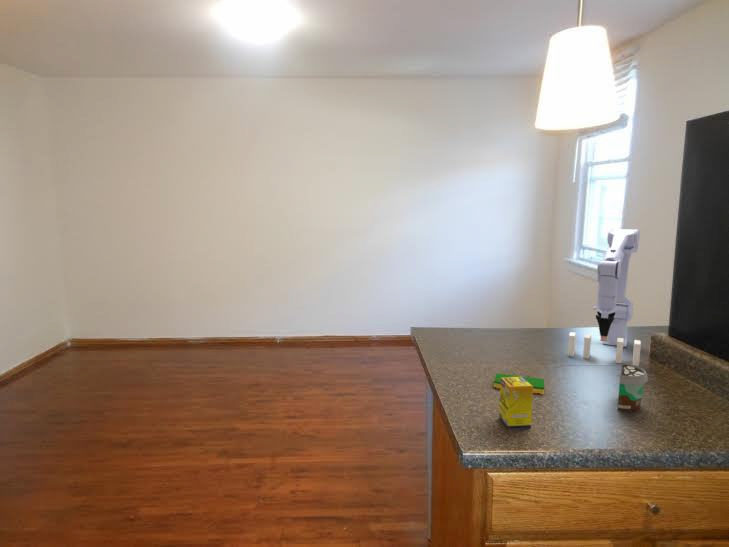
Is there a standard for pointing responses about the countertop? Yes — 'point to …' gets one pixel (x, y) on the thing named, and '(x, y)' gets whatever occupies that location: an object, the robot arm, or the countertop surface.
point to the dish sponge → (535, 382)
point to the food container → (631, 387)
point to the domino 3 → (603, 338)
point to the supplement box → (515, 402)
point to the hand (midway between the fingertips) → (604, 333)
